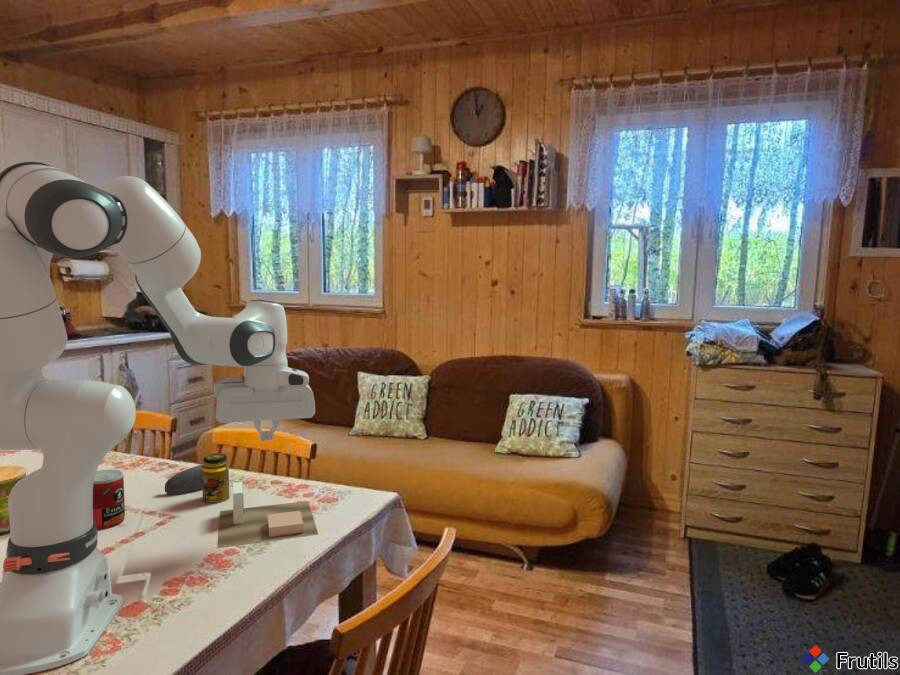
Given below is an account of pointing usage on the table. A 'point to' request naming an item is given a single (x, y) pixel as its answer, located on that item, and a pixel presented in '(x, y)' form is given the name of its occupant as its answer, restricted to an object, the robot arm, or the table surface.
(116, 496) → the canned food
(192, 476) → the perforated stone tool
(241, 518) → the cream tile
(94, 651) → the table surface
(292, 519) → the terracotta tile
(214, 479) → the condiment
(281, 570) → the table surface
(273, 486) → the table surface
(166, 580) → the table surface
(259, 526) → the walnut board
